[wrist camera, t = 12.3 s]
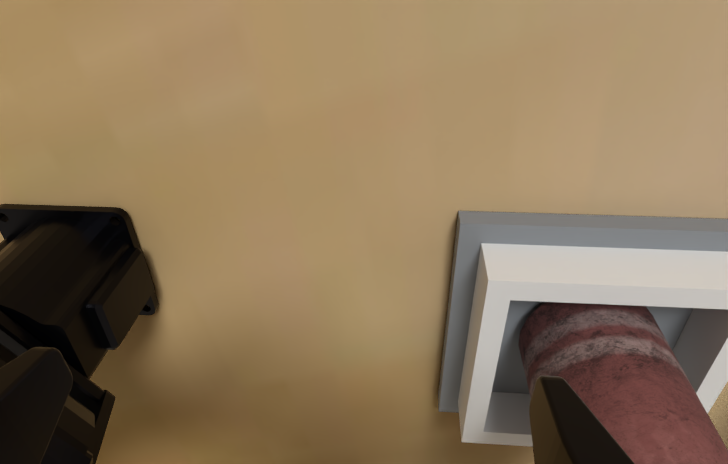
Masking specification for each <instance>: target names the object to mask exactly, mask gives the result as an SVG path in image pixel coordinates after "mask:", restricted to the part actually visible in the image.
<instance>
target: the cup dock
mask: <svg viewBox="0 0 728 464" xmlns="http://www.w3.org/2000/svg"><path fill="white" fill-rule="evenodd" d="M541 302H562V303H586V304H610V305H633V306H646V307H647V309H648V310H649V311H650V313H651V314H652V315H653V317H654V319H655V321H656V322H657V324H658V326H659V328H660V330H661V331H662V333H663V335H664V337H665V339H666V340H667V342H668V344H669V346H670V348H671V349H672V351H673V353H674V355H675V357H676V358H677V360H678V362H679V364H680V366H681V367H682V369H683V371H684V373H685V374H686V376H687V378H688V380H689V382H690V383H691V385H692V387H693V389H694V391H695V392H696V394H697V396H698V398H699V400H700V401H701V403H702V405H703V407H704V409H705V410H706V412H707V414H708V412H709V411H710V409H711V407H712V406H713V404H714V402H715V401H716V399H717V397H718V396H719V394H720V393H721V391H722V389H723V388H724V386H725V384H726V383H727V381H728V219H712V218H679V217H645V216H612V215H579V214H545V213H512V212H479V211H459V212H458V221H457V230H456V239H455V248H454V257H453V266H452V275H451V284H450V293H449V302H448V311H447V320H446V329H445V338H444V347H443V356H442V365H441V374H440V383H439V392H438V407H439V412H456V413H459V419H460V431H461V442H467V443H483V444H499V445H515V446H531V447H533V443H532V434H531V426H530V416H529V407H530V401H531V397H530V393H529V389H528V384H527V380H526V376H525V371H524V367H523V363H522V359H521V354H520V350H519V346H518V344H519V335H520V330H521V328H522V327H523V325H524V323H525V322H526V320H527V318H528V316H529V315H530V313H531V312H532V310H533V309H535V308H536V307H537V306H538V305H539V304H540V303H541Z"/></svg>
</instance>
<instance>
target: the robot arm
mask: <svg viewBox="0 0 728 464" xmlns="http://www.w3.org/2000/svg"><path fill="white" fill-rule="evenodd" d="M115 217H117V218H118V219H119V220H120V221H118V220H117V219H115ZM0 232H1V234H2V235H3V237H4V240H3V241H2V242H1V243H0V464H95V463H96V460H97V457H98V454H99V450H100V447H101V444H102V440H103V437H104V434H105V431H106V427H107V424H108V421H109V418H110V414H111V411H112V408H113V404H114V401H115V396H113V395H112V394H111V393H110V392H108V391H107V390H102V389H101V388H100V387H98V386H97V385H96V384H95V383H93V382H92V381H91V380H89V379H90V377H91V376H92V374H93V373H94V371H95V370H96V368H97V366H98V365H99V363H100V362H101V360H102V359H103V357H104V356H105V354H106V353H107V351H108V350H115V349H116V348H117V347H118V346H119V345H120V344H121V342H122V341H123V339H124V338H125V336H126V334H127V333H128V331H129V330H130V328H131V326H132V325H133V323H134V322H135V320H136V318H137V317H138V315H152V314H154V313H155V311H156V310H157V308H158V301H157V298H156V295H155V292H154V285H153V282H152V279H151V276H150V273H149V270H148V267H147V264H146V261H145V258H144V255H143V252H142V251H141V250H140V247H139V244H138V241H137V238H136V235H135V232H134V229H133V226H132V223H131V220H130V217H129V215H128V213H127V212H125V211H124V210H123V209H121V208H116V207H85V206H52V205H20V204H1V205H0ZM147 305H148V306H147ZM529 416H530V426H531V434H532V443H533V452H534V461H535V464H635V463H634V462H633V461H632V460H631V458H630V457H629V456H628V455H627V453H626V452H625V451H624V450H623V449H622V447H621V446H620V445H619V444H618V443H617V441H616V440H615V439H614V438H613V437H612V435H611V434H610V433H609V432H608V431H607V429H606V428H605V427H604V426H603V425H602V423H601V422H600V421H599V420H598V419H597V417H596V416H595V415H594V414H593V413H592V411H591V410H590V409H589V408H588V407H587V405H586V404H585V403H584V402H583V401H582V399H581V398H580V397H579V396H578V395H577V393H576V392H575V391H574V390H573V389H572V387H571V386H570V385H569V384H568V383H567V381H566V380H565V379H563V378H562V377H559V376H544V375H542V376H539V377H538V378H537V380H536V384H535V387H534V391H533V394H532V398H531V401H530V407H529Z"/></svg>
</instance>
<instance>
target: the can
mask: <svg viewBox="0 0 728 464" xmlns="http://www.w3.org/2000/svg"><path fill="white" fill-rule="evenodd" d="M518 346H519V350H520V354H521V359H522V363H523V367H524V371H525V376H526V380H527V384H528V389H529V393H530V397H531V398H532V394H533V391H534V387H535V384H536V380H537V378H538V377H539V376H542V375H544V376H559V377H562V378H563V379H565V380H566V381H567V383H568V384H569V385H570V386H571V387H572V389H573V390H574V391H575V392H576V393H577V395H578V396H579V397H580V398H581V399H582V401H583V402H584V403H585V404H586V405H587V407H588V408H589V409H590V410H591V411H592V413H593V414H594V415H595V416H596V417H597V419H598V420H599V421H600V422H601V423H602V425H603V426H604V427H605V428H606V429H607V431H608V432H609V433H610V434H611V435H612V437H613V438H614V439H615V440H616V441H617V443H618V444H619V445H620V446H621V447H622V449H623V450H624V451H625V452H626V453H627V455H628V456H629V457H630V458H631V460H632V461H633V462H634V463H635V464H728V450H727V448H726V446H725V444H724V443H723V441H722V439H721V437H720V435H719V434H718V432H717V430H716V428H715V427H714V425H713V423H712V421H711V419H710V418H709V416H708V414H707V412H706V410H705V409H704V407H703V405H702V403H701V401H700V400H699V398H698V396H697V394H696V392H695V391H694V389H693V387H692V385H691V383H690V382H689V380H688V378H687V376H686V374H685V373H684V371H683V369H682V367H681V366H680V364H679V362H678V360H677V358H676V357H675V355H674V353H673V351H672V349H671V348H670V346H669V344H668V342H667V340H666V339H665V337H664V335H663V333H662V331H661V330H660V328H659V326H658V324H657V322H656V321H655V319H654V317H653V315H652V314H651V313H650V311H649V310H648V309H647V307H646V306H633V305H610V304H586V303H562V302H541V303H540V304H539V305H538V306H537V307H536V308H535V309H533V310H532V312H531V313H530V315H529V316H528V318H527V320H526V322H525V323H524V325H523V327H522V328H521V330H520V335H519V344H518Z"/></svg>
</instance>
